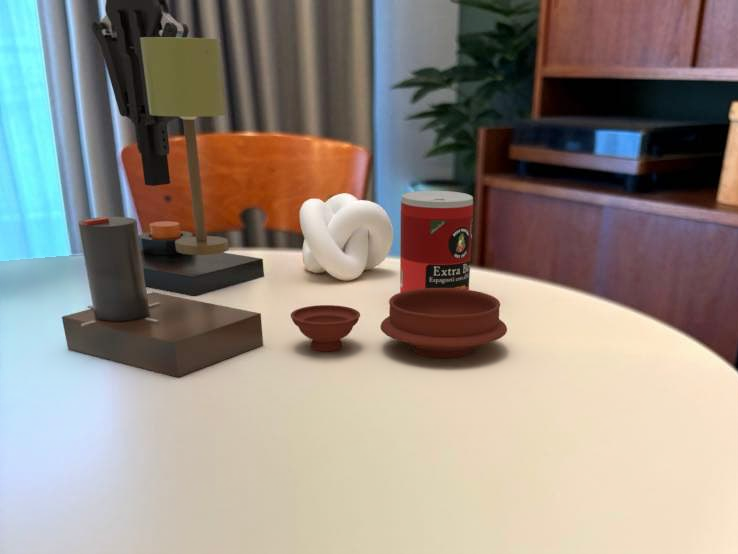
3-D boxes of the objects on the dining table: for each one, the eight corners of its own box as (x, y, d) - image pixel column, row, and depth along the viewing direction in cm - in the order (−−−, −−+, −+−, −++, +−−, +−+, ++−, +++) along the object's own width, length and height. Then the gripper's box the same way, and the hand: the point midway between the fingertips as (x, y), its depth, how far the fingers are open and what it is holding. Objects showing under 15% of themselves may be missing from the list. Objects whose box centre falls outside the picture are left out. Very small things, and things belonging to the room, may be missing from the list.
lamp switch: (145, 239, 103) (143, 224, 102) (166, 234, 106) (164, 220, 105) (166, 242, 101) (164, 227, 101) (187, 237, 104) (185, 223, 103)
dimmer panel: (55, 350, 75) (47, 316, 74) (153, 321, 84) (149, 289, 83) (169, 380, 69) (164, 343, 67) (263, 345, 78) (260, 311, 76)
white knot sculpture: (361, 290, 96) (359, 208, 92) (273, 279, 101) (268, 200, 96) (401, 271, 105) (402, 196, 101) (319, 262, 110) (317, 189, 105)
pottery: (511, 369, 73) (515, 319, 70) (284, 366, 73) (281, 316, 70) (499, 331, 83) (502, 286, 80) (300, 328, 83) (297, 283, 80)
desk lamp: (152, 251, 95) (123, 37, 84) (201, 240, 101) (180, 39, 90) (203, 259, 91) (180, 37, 81) (251, 248, 97) (235, 39, 86)
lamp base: (96, 278, 100) (90, 243, 98) (170, 260, 109) (166, 228, 107) (194, 297, 93) (190, 260, 91) (265, 276, 102) (263, 242, 100)
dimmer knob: (124, 304, 78) (109, 211, 74) (160, 312, 76) (147, 216, 72) (83, 315, 75) (65, 218, 70) (119, 324, 72) (103, 224, 68)
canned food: (431, 313, 88) (434, 203, 83) (385, 298, 93) (385, 193, 88) (483, 302, 92) (489, 197, 87) (436, 288, 98) (439, 188, 92)
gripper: (59, -56, 89) (96, 182, 101) (146, -61, 83) (174, 192, 95) (114, -48, 94) (143, 176, 106) (199, -52, 88) (219, 186, 100)
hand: (157, 184), depth 100 cm, fingers closed
